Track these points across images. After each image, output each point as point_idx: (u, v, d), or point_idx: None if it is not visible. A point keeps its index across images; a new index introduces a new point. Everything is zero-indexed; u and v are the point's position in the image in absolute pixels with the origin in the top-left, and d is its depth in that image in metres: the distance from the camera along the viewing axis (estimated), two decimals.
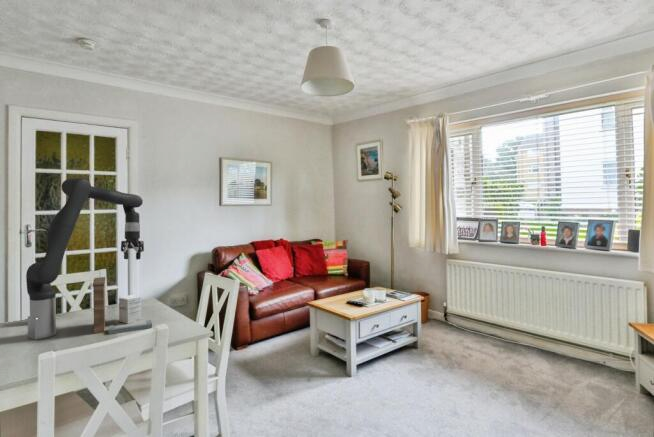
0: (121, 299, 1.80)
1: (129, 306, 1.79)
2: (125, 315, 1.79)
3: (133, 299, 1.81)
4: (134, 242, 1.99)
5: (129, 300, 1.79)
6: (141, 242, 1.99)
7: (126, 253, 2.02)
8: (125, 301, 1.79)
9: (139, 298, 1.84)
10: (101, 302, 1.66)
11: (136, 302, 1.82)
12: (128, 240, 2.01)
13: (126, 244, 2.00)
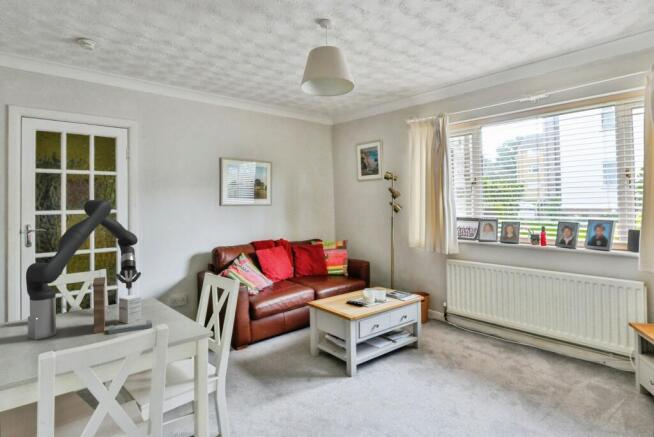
0: (121, 299, 1.80)
1: (129, 306, 1.79)
2: (125, 315, 1.79)
3: (133, 299, 1.81)
4: (134, 272, 2.01)
5: (129, 300, 1.79)
6: (140, 274, 2.03)
7: None
8: (125, 301, 1.79)
9: (139, 298, 1.84)
10: (101, 302, 1.66)
11: (136, 302, 1.82)
12: (125, 269, 2.00)
13: (125, 273, 1.98)
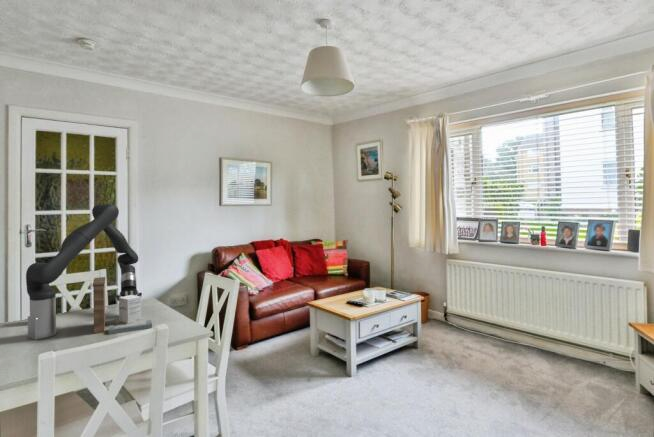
0: (121, 299, 1.80)
1: (129, 307, 1.79)
2: (125, 315, 1.79)
3: (133, 299, 1.81)
4: (134, 293, 1.94)
5: (129, 300, 1.79)
6: (141, 295, 1.95)
7: None
8: (125, 301, 1.79)
9: (139, 298, 1.84)
10: (101, 302, 1.66)
11: (136, 302, 1.82)
12: (125, 290, 1.93)
13: (125, 293, 1.91)
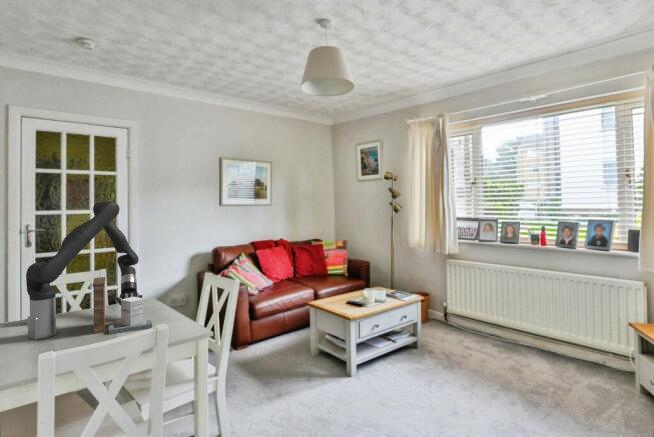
0: (123, 301, 1.76)
1: (132, 309, 1.75)
2: (128, 318, 1.75)
3: (136, 301, 1.77)
4: (135, 295, 1.89)
5: (132, 302, 1.75)
6: (141, 297, 1.90)
7: None
8: (128, 303, 1.75)
9: (142, 300, 1.80)
10: (101, 302, 1.66)
11: (139, 304, 1.78)
12: (125, 292, 1.88)
13: (125, 296, 1.86)
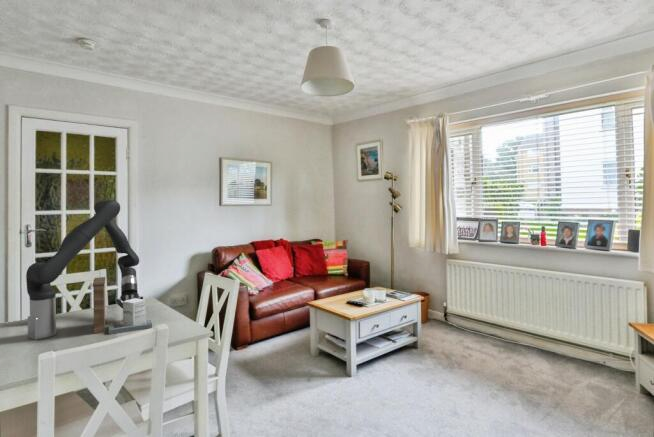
0: (125, 303, 1.73)
1: (134, 310, 1.73)
2: (130, 319, 1.72)
3: (138, 302, 1.74)
4: (135, 296, 1.86)
5: (134, 304, 1.72)
6: None
7: None
8: (130, 305, 1.72)
9: (144, 301, 1.77)
10: (101, 302, 1.66)
11: (141, 306, 1.76)
12: (126, 294, 1.85)
13: (126, 298, 1.83)
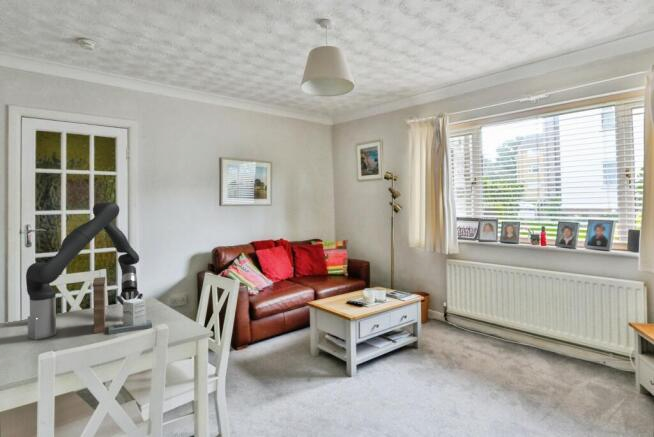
0: (125, 303, 1.73)
1: (134, 310, 1.73)
2: (130, 320, 1.72)
3: (138, 303, 1.74)
4: (135, 293, 1.91)
5: (134, 304, 1.72)
6: (142, 296, 1.92)
7: None
8: (130, 305, 1.72)
9: (144, 301, 1.77)
10: (101, 302, 1.66)
11: (141, 306, 1.76)
12: (126, 291, 1.90)
13: (126, 294, 1.88)
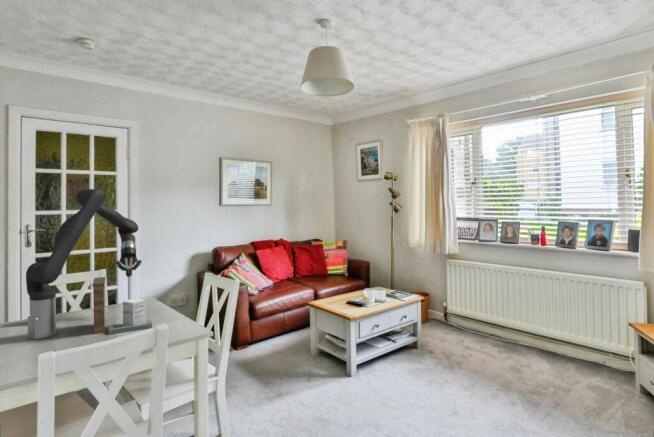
0: (125, 303, 1.73)
1: (134, 310, 1.73)
2: (130, 320, 1.72)
3: (138, 303, 1.74)
4: (134, 260, 1.95)
5: (134, 304, 1.72)
6: (140, 262, 1.97)
7: None
8: (130, 305, 1.72)
9: (144, 301, 1.77)
10: (101, 302, 1.66)
11: (141, 306, 1.76)
12: (125, 257, 1.95)
13: (125, 260, 1.93)
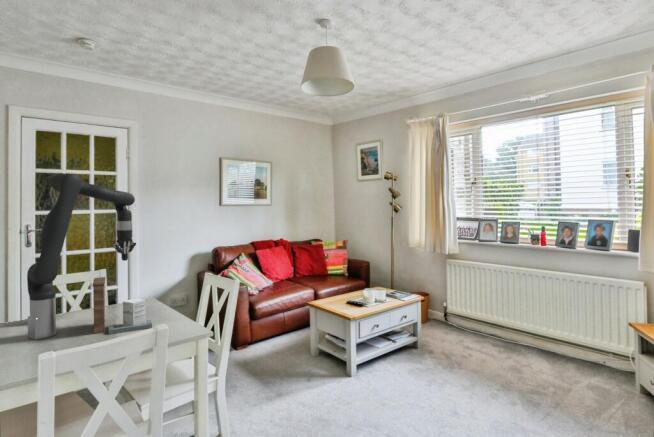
0: (125, 303, 1.73)
1: (134, 310, 1.73)
2: (130, 320, 1.72)
3: (138, 303, 1.74)
4: (130, 242, 1.99)
5: (134, 304, 1.72)
6: None
7: None
8: (130, 305, 1.72)
9: (144, 301, 1.77)
10: (101, 302, 1.66)
11: (141, 306, 1.76)
12: (123, 239, 1.95)
13: (124, 244, 1.95)
